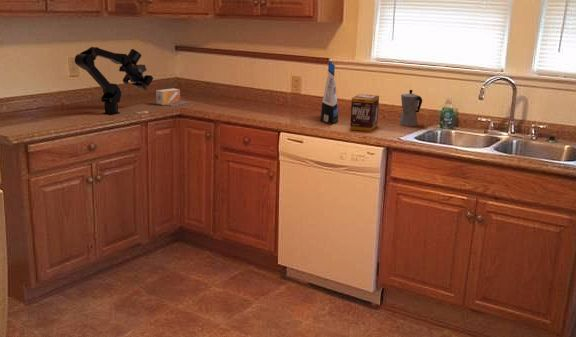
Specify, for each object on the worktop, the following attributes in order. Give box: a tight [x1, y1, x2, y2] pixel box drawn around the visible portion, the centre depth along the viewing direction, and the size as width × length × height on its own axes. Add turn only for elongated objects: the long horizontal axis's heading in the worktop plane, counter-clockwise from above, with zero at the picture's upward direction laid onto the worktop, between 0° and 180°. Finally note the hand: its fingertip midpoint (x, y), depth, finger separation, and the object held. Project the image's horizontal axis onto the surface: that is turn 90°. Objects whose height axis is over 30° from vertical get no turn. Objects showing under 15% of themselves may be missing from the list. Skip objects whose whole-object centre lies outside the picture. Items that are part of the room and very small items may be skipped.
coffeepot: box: [398, 89, 423, 127], centre depth 304 cm, size 15×9×18 cm, turn 28°
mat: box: [148, 100, 190, 107], centre depth 360 cm, size 16×18×1 cm
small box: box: [155, 88, 181, 106], centre depth 355 cm, size 8×6×13 cm
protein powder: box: [320, 60, 339, 125], centre depth 311 cm, size 10×24×30 cm, turn 3°
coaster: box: [134, 110, 148, 115], centre depth 326 cm, size 7×7×1 cm
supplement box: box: [349, 93, 380, 132], centre depth 296 cm, size 10×15×16 cm
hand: (145, 89), depth 341 cm, fingers closed
